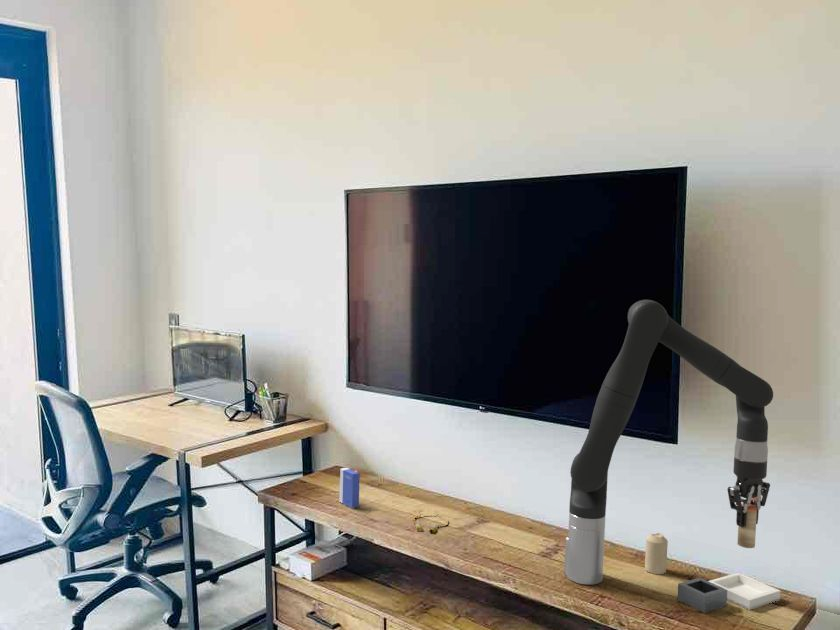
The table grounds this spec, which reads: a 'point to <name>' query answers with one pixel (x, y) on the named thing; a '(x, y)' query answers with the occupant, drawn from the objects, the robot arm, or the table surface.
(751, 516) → the pin
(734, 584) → the tray
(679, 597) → the socket block
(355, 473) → the walkman
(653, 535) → the candle
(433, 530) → the beaded necklace
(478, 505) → the table surface
